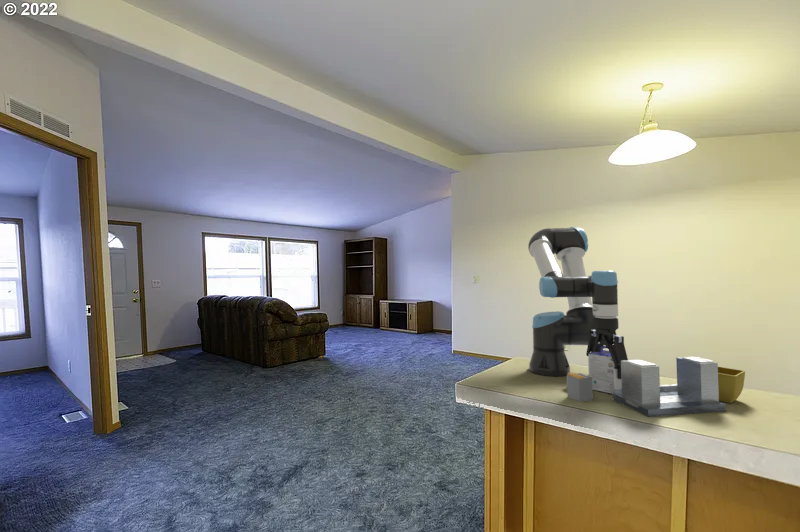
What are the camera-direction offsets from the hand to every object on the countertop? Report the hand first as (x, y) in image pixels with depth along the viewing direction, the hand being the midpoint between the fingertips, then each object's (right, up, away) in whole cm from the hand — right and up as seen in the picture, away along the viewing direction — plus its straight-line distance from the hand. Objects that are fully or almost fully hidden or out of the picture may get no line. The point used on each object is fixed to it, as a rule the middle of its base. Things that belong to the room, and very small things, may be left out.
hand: (607, 383), depth 124 cm
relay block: (-12, -3, -7) cm, 14 cm away
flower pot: (+30, -2, -10) cm, 31 cm away
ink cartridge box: (0, -3, 0) cm, 3 cm away
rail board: (+10, -2, -14) cm, 17 cm away
